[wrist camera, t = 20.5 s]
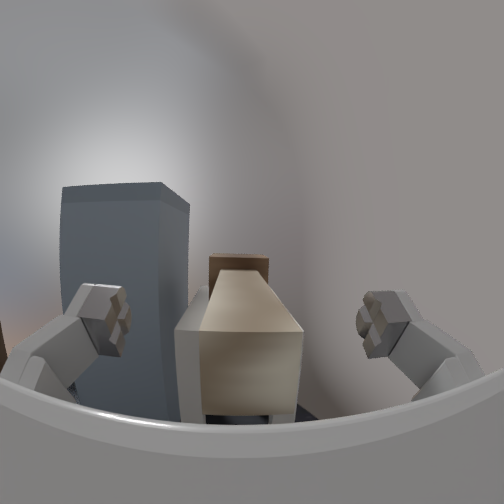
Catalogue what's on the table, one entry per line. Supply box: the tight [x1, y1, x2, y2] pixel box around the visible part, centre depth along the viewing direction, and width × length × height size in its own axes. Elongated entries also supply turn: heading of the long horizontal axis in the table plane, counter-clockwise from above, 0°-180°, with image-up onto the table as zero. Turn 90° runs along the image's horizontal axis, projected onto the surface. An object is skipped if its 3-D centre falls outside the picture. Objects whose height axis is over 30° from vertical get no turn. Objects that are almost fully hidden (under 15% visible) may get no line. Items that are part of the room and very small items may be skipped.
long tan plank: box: [199, 253, 303, 415], centre depth 18 cm, size 5×21×4 cm, turn 4°
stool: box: [174, 286, 304, 424], centre depth 25 cm, size 8×16×16 cm, turn 4°
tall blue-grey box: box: [60, 182, 190, 422], centre depth 30 cm, size 10×16×26 cm, turn 4°
